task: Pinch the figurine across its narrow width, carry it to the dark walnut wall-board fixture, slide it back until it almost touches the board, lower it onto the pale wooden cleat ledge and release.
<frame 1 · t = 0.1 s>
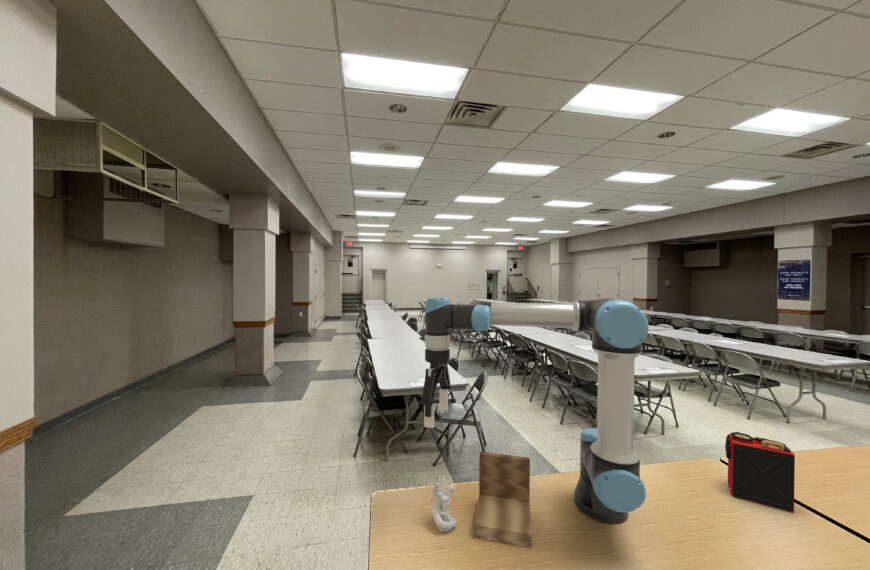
hand: (436, 417, 100), 28 cm above the table, fingers open, 13 cm apart
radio: (756, 496, 108), on the table
figurine: (442, 521, 96), on the table
wall shelf: (503, 521, 96), on the table
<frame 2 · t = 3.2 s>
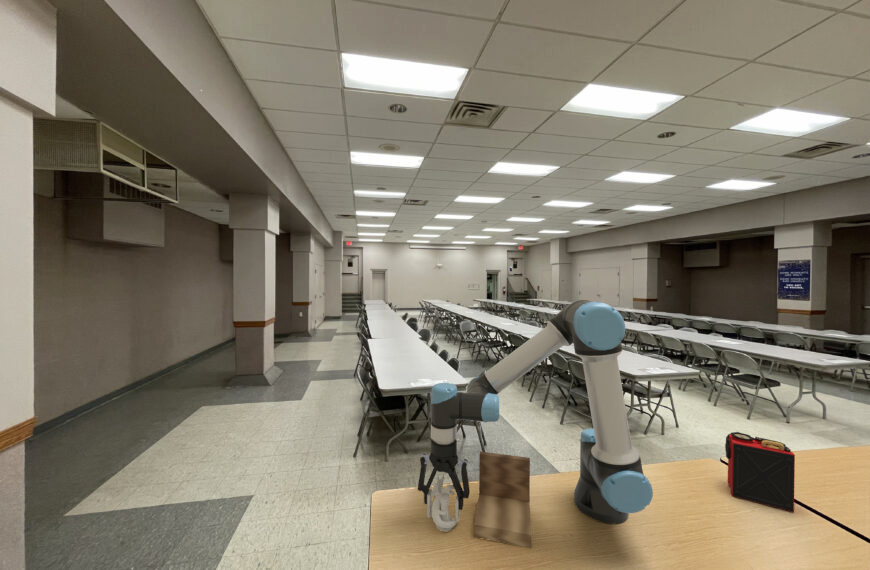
hand: (443, 516, 96), 1 cm above the table, fingers closed on figurine, 8 cm apart
figurine: (442, 521, 96), on the table, touching gripper
everything else where it was.
when the fingers open (6 cm above the table, at t = 9.4 s): figurine stays where it is, resting on wall shelf.
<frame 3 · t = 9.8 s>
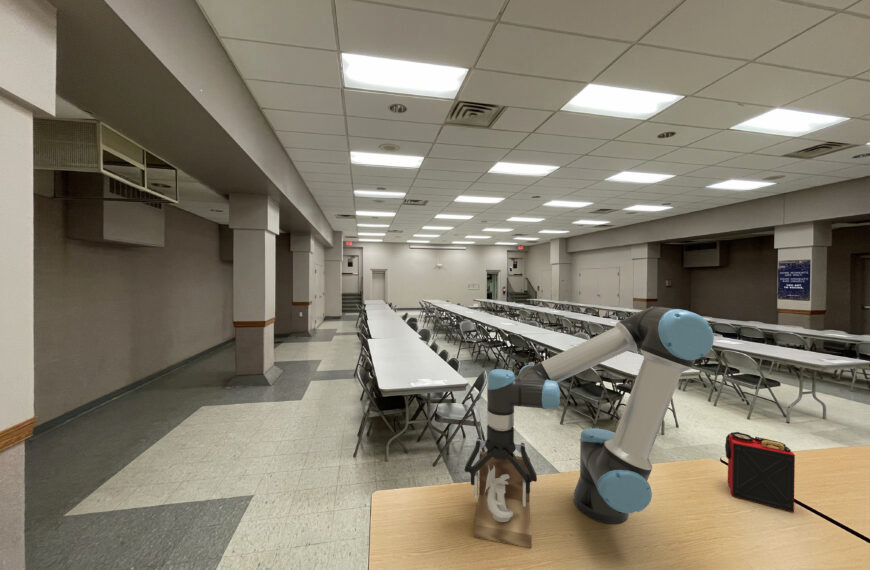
hand: (499, 499, 94), 7 cm above the table, fingers open, 13 cm apart
figurine: (497, 513, 94), point 3 cm above the table, touching wall shelf
everything else where it was.
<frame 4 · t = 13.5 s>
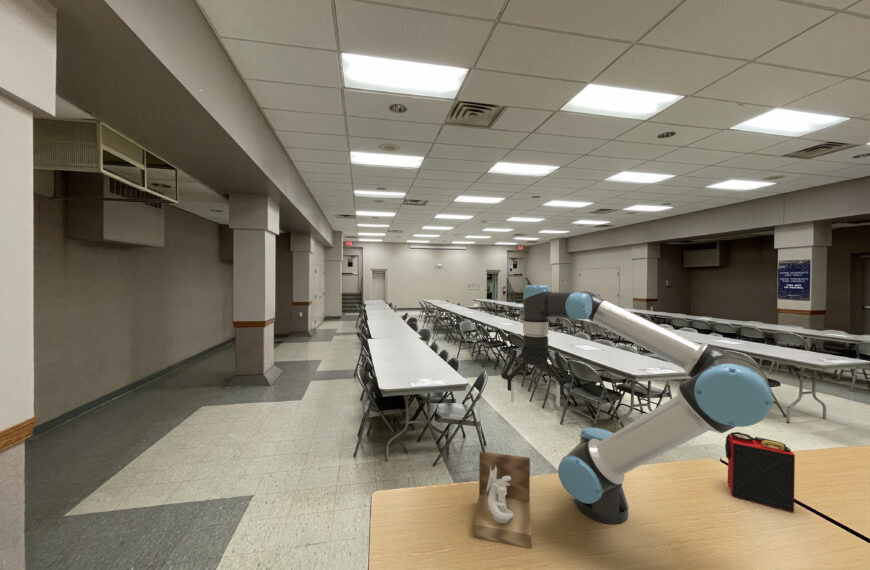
hand: (534, 403, 103), 32 cm above the table, fingers open, 13 cm apart
nothing on the table moved.
at the end: figurine inside the target area on the wall shelf (1.3 cm from its centre), point 3.3 cm above the wall shelf's base; figurine tilted 0°; the gripper is holding nothing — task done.
